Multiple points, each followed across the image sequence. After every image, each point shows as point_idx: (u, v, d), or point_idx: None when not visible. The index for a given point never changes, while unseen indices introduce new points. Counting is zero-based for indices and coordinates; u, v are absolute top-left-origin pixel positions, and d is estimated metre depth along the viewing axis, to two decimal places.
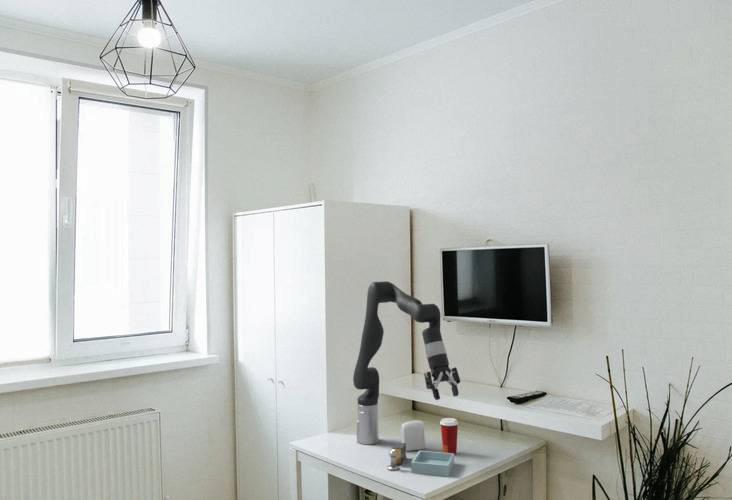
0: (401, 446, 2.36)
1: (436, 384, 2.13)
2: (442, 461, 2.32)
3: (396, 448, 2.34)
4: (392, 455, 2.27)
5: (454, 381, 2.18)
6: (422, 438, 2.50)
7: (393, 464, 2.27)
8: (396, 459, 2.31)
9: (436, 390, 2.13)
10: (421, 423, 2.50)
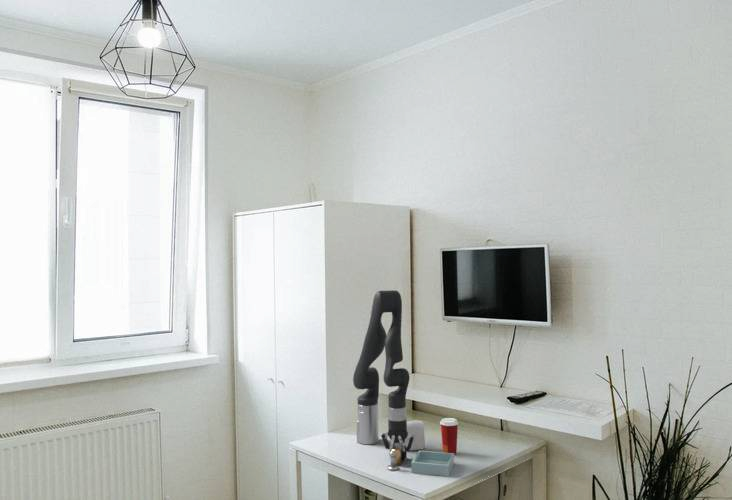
0: None
1: (391, 446, 2.36)
2: (442, 461, 2.32)
3: (396, 448, 2.34)
4: (392, 455, 2.27)
5: (403, 448, 2.34)
6: (422, 438, 2.50)
7: (393, 464, 2.27)
8: (396, 459, 2.31)
9: None
10: (421, 423, 2.50)
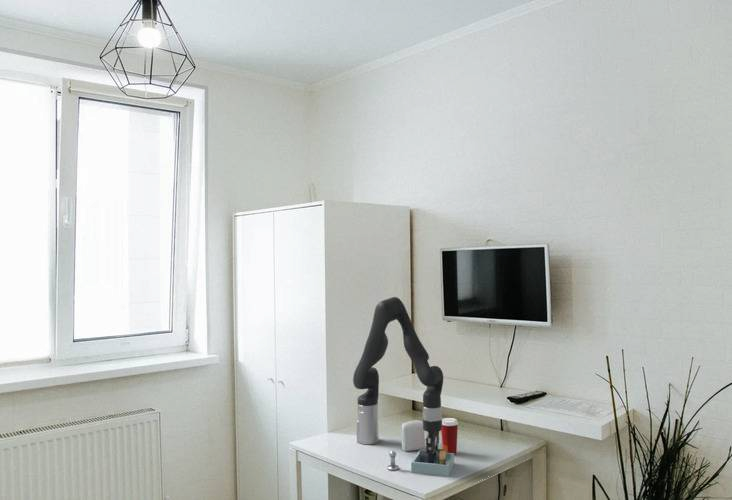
0: None
1: (433, 449, 2.24)
2: None
3: (438, 450, 2.27)
4: (392, 455, 2.27)
5: (437, 443, 2.32)
6: (422, 438, 2.50)
7: (393, 464, 2.27)
8: (445, 459, 2.27)
9: (433, 455, 2.24)
10: (421, 423, 2.50)
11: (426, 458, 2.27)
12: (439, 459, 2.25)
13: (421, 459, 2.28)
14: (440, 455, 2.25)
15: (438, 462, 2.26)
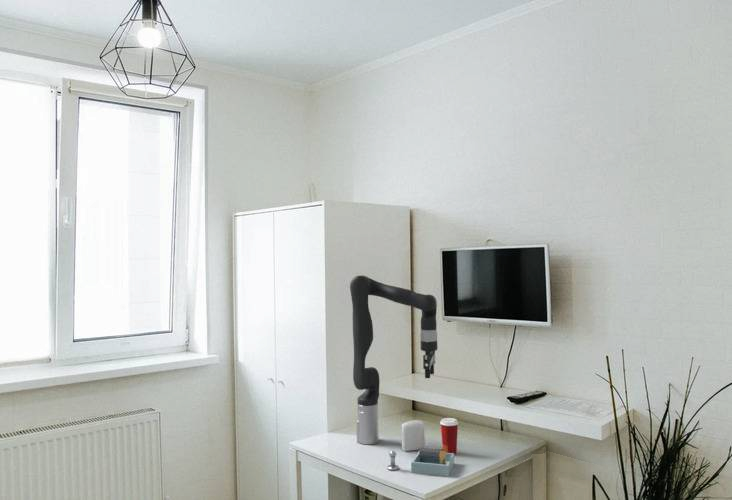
0: (431, 448, 2.30)
1: (430, 365, 2.53)
2: None
3: (438, 450, 2.27)
4: (392, 455, 2.27)
5: (434, 362, 2.61)
6: (422, 438, 2.50)
7: (393, 464, 2.27)
8: (445, 459, 2.27)
9: (429, 370, 2.53)
10: (421, 423, 2.50)
11: (426, 458, 2.27)
12: (439, 459, 2.25)
13: (421, 459, 2.28)
14: (440, 455, 2.25)
15: (438, 462, 2.26)
